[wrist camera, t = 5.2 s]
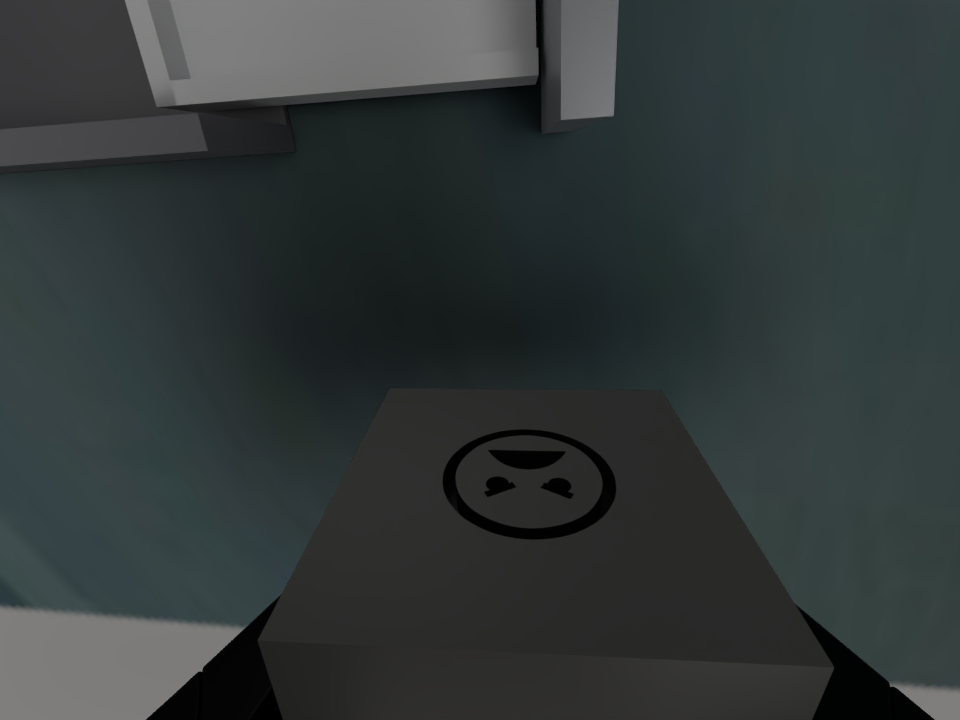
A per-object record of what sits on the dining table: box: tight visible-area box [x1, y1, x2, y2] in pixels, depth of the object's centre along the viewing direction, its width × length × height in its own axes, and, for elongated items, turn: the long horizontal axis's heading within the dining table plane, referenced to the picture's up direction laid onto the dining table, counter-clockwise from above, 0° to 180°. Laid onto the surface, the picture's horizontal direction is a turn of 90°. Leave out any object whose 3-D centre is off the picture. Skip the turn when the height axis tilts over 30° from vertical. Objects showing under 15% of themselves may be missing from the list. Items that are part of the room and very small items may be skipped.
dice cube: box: [257, 388, 834, 720], centre depth 7 cm, size 5×5×5 cm
